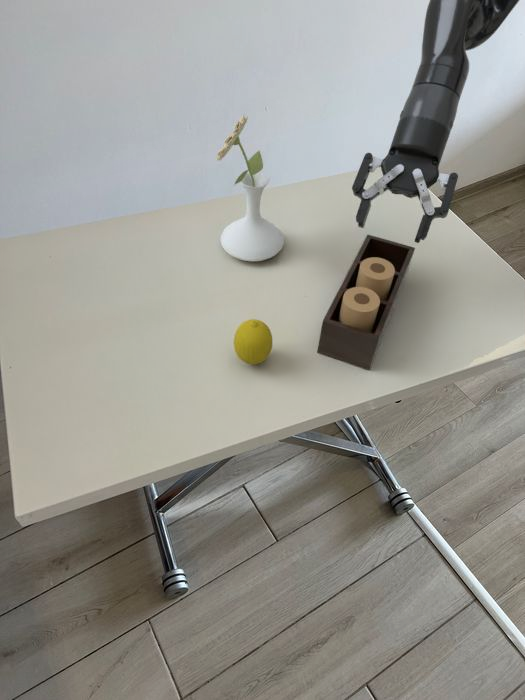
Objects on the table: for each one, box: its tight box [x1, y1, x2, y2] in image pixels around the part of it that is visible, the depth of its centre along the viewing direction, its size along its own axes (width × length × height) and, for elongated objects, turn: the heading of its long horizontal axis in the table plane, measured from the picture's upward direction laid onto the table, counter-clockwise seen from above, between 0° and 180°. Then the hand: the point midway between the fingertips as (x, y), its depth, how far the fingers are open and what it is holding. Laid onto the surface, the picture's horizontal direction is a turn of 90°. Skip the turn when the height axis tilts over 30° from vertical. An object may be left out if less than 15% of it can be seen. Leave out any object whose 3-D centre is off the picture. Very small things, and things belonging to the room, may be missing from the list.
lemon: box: [233, 318, 273, 365], centre depth 76 cm, size 6×6×8 cm
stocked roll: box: [338, 287, 380, 333], centre depth 78 cm, size 5×5×9 cm
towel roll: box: [355, 257, 395, 301], centre depth 82 cm, size 5×5×9 cm
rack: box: [316, 234, 416, 371], centre depth 84 cm, size 23×8×7 cm, turn 156°
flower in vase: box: [216, 113, 285, 262], centre depth 87 cm, size 13×11×25 cm
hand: (388, 234), depth 78 cm, fingers open, 8 cm apart
